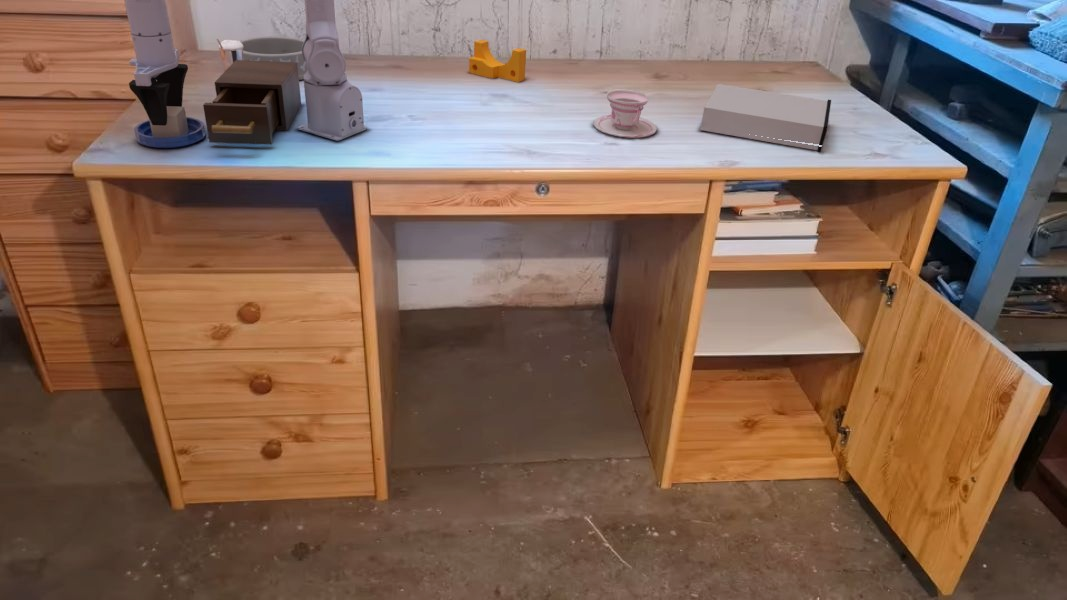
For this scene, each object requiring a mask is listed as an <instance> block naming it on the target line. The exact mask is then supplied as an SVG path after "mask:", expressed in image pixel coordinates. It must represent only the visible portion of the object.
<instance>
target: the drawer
mask: <svg viewBox="0 0 1067 600" xmlns="http://www.w3.org/2000/svg"><path fill="white" fill-rule="evenodd" d="M202 107H203V112H204V119H205V125H206V131H207V135H208V136H207V137H208V141H209V143H212V144H213V143H215V144H244V145H245V144H247V145H248V144H249V145H250V144H251V145H272V144H273V142H274V141H273V133H274V132H275V131H276V130H275V128H276V126H277V125H278V123H279V122H280V120H281V115H280V107H279V98H278V89H262V88H234V87H225V88H224V89H223V90H222V91H221V92H220V94H219V95H218V96H217V95H216V97H215V98H214V99H213V100H212V102H204V103H203V105H202Z"/></svg>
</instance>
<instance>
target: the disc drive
mask: <svg viewBox="0 0 1067 600" xmlns="http://www.w3.org/2000/svg"><path fill="white" fill-rule="evenodd" d="M831 105H832V99H827V100H825V99H819V98H818V99H817V98H811V97H805V96H798V95H793V94H792V95H791V94H787V93H779V92H772V91H767V90H760V89H754V88H747V87H743V86H734V85H728V84H722V83H717V85H716V87H715V89H714V90H713V92H712V93H711V95H710V97H709V98H708V101H707V102H706V103H705V105H704V106H703V112H702V118H701V123H700V129H699V130H700V131H705V132H710V133H717V134H721V135H727V136H732V137H733V136H734V137H738V138H745V139H749V140H757V141H762V142H768V143H774V144H778V145H785V146H791V147H796V148H803V149H808V150H813V151H816V153H821V152H822V149H823V146H822V147H819V146H814V145H808V144H802V143H796V142H790V141H784V140H791V141H798V142H805V143H813V144H819V145H824V142H825V139H826V135H827V132H828V127H829V119H830V112H831ZM749 134H750V135H749ZM755 135H757V136H755ZM761 136H763V137H761ZM767 137H769V138H767ZM773 138H775V139H773ZM778 139H782V140H778Z"/></svg>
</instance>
